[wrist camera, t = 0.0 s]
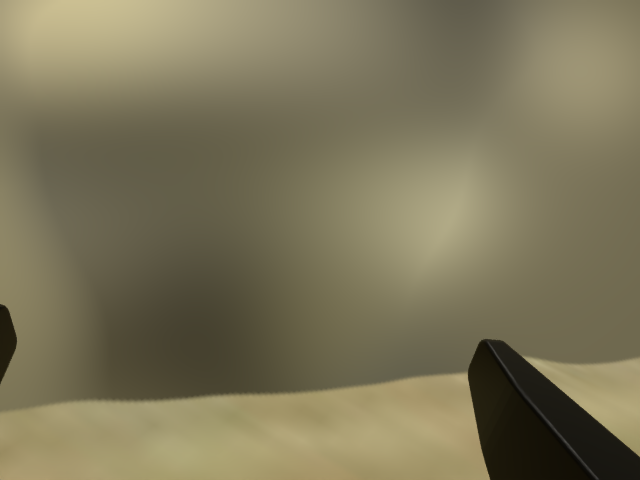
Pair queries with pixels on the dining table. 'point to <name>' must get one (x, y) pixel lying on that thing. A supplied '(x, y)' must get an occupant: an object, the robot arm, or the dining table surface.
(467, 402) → the dining table surface
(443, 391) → the dining table surface
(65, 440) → the dining table surface
